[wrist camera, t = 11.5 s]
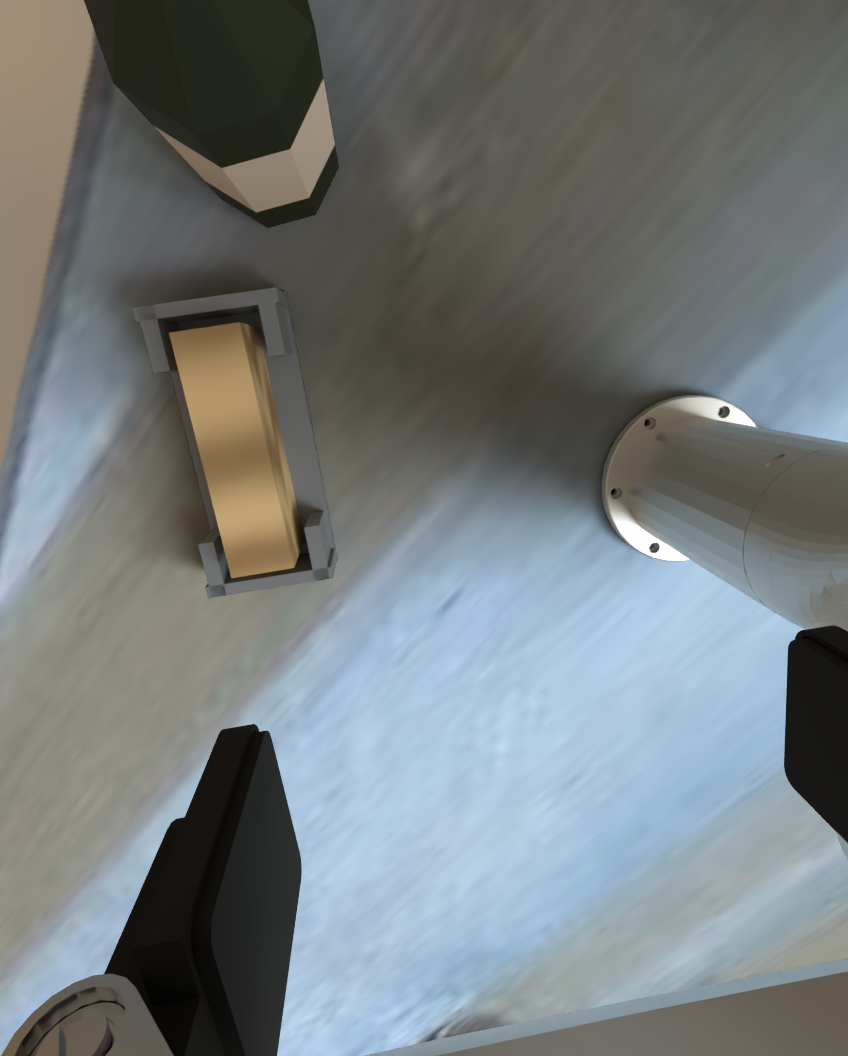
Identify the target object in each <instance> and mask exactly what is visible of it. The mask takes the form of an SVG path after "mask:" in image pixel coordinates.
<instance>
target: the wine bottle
mask: <svg viewBox="0 0 848 1056" xmlns="http://www.w3.org/2000/svg"><path fill="white" fill-rule="evenodd" d="M84 1H85V4H86V7H87V10H88V13H89V15H90V18H91V21H92V24H93V27H94V29H95V32H96V35H97V38H98V41H99V43H100V46H101V49H102V52H103V55H104V57H105V60H106V63H107V66H108V69H109V71H110V74H111V77H112V80H113V83H114V84H115V85H116V86H117V87H118V88H119V89H120V90H121V91H122V92H123V93H124V95H125V96H126V97H127V98H128V99H129V100H130V101H131V102H132V103H133V104H134V105H135V106H136V107H137V109H138V110H139V111H140V112H141V113H142V114H143V115H144V116H145V117H146V118H147V119H148V120H149V121H150V123H151V124H152V125H153V126H154V127H155V128H156V129H157V130H158V131H159V132H160V133H161V134H162V135H163V136H164V138H165V139H166V140H167V141H168V142H169V143H170V144H171V145H172V146H173V147H174V148H175V149H176V150H177V152H178V153H179V154H180V155H181V156H182V157H183V158H184V159H185V160H186V161H187V162H188V163H189V164H190V166H191V167H192V168H193V169H194V170H195V171H196V172H197V173H198V174H199V175H200V176H201V177H202V178H203V180H204V181H205V182H206V183H207V184H208V185H209V186H210V187H211V188H212V189H213V190H214V191H215V192H216V193H217V195H218V196H219V197H220V198H221V199H222V200H224V201H225V202H227V203H229V204H230V205H232V206H233V207H235V208H237V209H238V210H240V211H242V212H243V213H245V214H246V215H248V216H250V217H251V218H253V219H255V220H256V221H258V222H259V223H261V224H263V225H264V226H266V227H268V228H269V227H273V226H276V225H280V224H284V223H287V222H291V221H294V220H298V219H302V218H305V217H309V216H312V215H316V213H317V211H318V209H319V207H320V204H321V202H322V200H323V198H324V196H325V194H326V192H327V190H328V188H329V186H330V184H331V182H332V180H333V178H334V176H335V174H336V172H337V170H338V168H339V166H338V160H337V155H336V149H335V143H334V137H333V131H332V125H331V120H330V114H329V108H328V102H327V96H326V90H325V84H324V79H323V73H322V67H321V61H320V55H319V49H318V43H317V38H316V32H315V26H314V23H313V19H312V15H311V11H310V8H309V4H308V0H84Z"/></svg>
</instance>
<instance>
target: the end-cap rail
mask: <svg viewBox="0 0 848 1056" xmlns="http://www.w3.org/2000/svg"><path fill="white" fill-rule="evenodd" d="M132 310H133V314H134V318H135V321H136V322H139V323H140V324H141V328H142V331H143V335H144V339H145V343H146V347H147V351H148V354H149V358H150V362H151V366H152V370H153V373H165V372H171V376H172V380H173V384H174V388H175V392H176V396H177V400H178V404H179V408H180V412H181V416H182V420H183V424H184V428H185V432H186V435H187V439H188V443H189V447H190V451H191V455H192V459H193V463H194V467H195V471H196V475H197V479H198V483H199V487H200V491H201V495H202V499H203V503H204V507H205V511H206V515H207V519H208V523H209V527H210V532H209V533H208V534H207V535H206V536H205V538H204V539H203V540H202V541H201V542H200V543H199V544H198V547H199V550H200V554H201V558H202V562H203V566H204V570H205V574H206V577H207V581H208V584H207V585H206V587H205V588H206V592H207V596H208V598H212V597H219V596H225V595H231V594H237V593H243V592H249V591H256V590H262V589H268V588H274V587H280V586H286V585H293V584H299V583H305V582H311V581H317V580H324V579H330V578H333V577H334V571H335V565H336V562H337V554H336V549H335V543H334V538H333V533H332V528H331V523H330V517H329V512H328V507H327V502H326V497H325V491H324V486H323V481H322V476H321V471H320V465H319V460H318V455H317V450H316V445H315V439H314V434H313V429H312V424H311V419H310V413H309V408H308V403H307V398H306V393H305V387H304V382H303V377H302V372H301V367H300V361H299V356H298V351H297V346H296V341H295V335H294V330H293V325H292V320H291V315H290V309H289V304H288V299H287V294H286V292H285V291H283V292H282V291H280V290H279V289H278V288H276V287H275V288H268V289H261V290H254V291H247V292H239V293H232V294H225V295H218V296H211V297H204V298H197V299H190V300H183V301H176V302H168V303H161V304H154V305H147V306H140V307H133V308H132ZM237 322H240V323H244V324H247V325H251V326H254V327H258V328H259V332H260V336H261V341H262V346H263V350H264V355H265V359H266V364H267V369H268V373H269V378H270V383H271V387H272V392H273V397H274V401H275V406H276V411H277V415H278V420H279V425H280V429H281V434H282V439H283V443H284V448H285V453H286V457H287V462H288V467H289V471H290V476H291V481H292V485H293V490H294V495H295V499H296V504H297V509H298V513H299V518H300V523H301V527H302V532H303V537H304V543H303V546H302V548H301V551H300V554H299V556H298V559H297V562H296V564H295V567H294V568H291V569H285V570H279V571H273V572H267V573H261V574H255V575H249V576H243V577H237V578H231V574H230V571H229V567H228V563H227V559H226V555H225V551H224V547H223V543H222V539H221V535H220V531H219V527H218V524H217V520H216V516H215V512H214V508H213V504H212V500H211V496H210V492H209V488H208V484H207V480H206V476H205V473H204V469H203V465H202V461H201V457H200V453H199V449H198V445H197V441H196V437H195V433H194V429H193V426H192V422H191V418H190V414H189V410H188V406H187V402H186V398H185V394H184V390H183V386H182V382H181V379H180V375H179V371H178V367H177V363H176V359H175V355H174V351H173V347H172V343H171V339H170V335H169V333H171V332H177V331H184V330H191V329H197V328H204V327H211V326H217V325H224V324H231V323H237Z"/></svg>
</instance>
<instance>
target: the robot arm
mask: <svg viewBox="0 0 848 1056" xmlns="http://www.w3.org/2000/svg"><path fill="white" fill-rule="evenodd" d="M719 409H720V412H719V413H718V411H719ZM646 419H647V421H648V423H647V425H645V426H644V423H645V420H646ZM612 489H615V491H614V493H613V494H611V491H612ZM602 500H603V505H604V510H605V513H606V515H607V517H608V519H609V522H610V524H611V526H612V527H613V528H614V530H615V531H616V533H617V534H618V535H619V536H620V537H621V538H622V539H623V540H624V541H625V542H626V543H627V544H628V545H630V546H631V547H633V548H634V549H636V550H637V551H639V552H640V553H642V554H644V555H646V556H649V557H651V558H655V559H659V560H664V561H687V560H692V561H693V562H695V563H696V564H698V565H699V566H701V567H703V568H704V569H706V570H707V571H709V572H711V573H712V574H714V575H715V576H717V577H719V578H720V579H722V580H723V581H725V582H727V583H728V584H730V585H731V586H733V587H735V588H736V589H738V590H739V591H741V592H743V593H744V594H746V595H747V596H749V597H751V598H752V599H754V600H755V601H757V602H759V603H760V604H762V605H763V606H765V607H767V608H768V609H770V610H771V611H773V612H775V613H777V614H778V615H780V616H782V617H783V618H785V619H787V620H788V621H790V622H791V623H793V624H795V625H798V626H800V627H802V628H804V629H806V630H801V631H800V632H798V634H797V635H796V637H795V640H793V641H791V642H790V644H789V647H788V668H787V697H786V726H785V756H784V768H785V773H786V776H787V778H788V781H789V782H790V784H791V785H792V787H793V788H794V789H795V790H796V791H797V792H798V793H799V794H800V795H801V796H802V797H803V798H804V799H805V800H806V801H807V802H808V803H809V804H810V805H811V806H812V807H813V808H814V809H815V811H816V812H817V813H818V814H819V815H820V816H821V817H822V818H823V819H824V820H825V821H826V822H827V823H828V824H829V825H830V826H831V827H832V828H833V829H834V830H835V831H836V832H837V835H838V839H839V842H840V845H841V847H842V849H843V852H844V854H845V856H846V858H847V859H848V443H846V442H840V441H834V440H828V439H822V438H817V437H811V436H805V435H799V434H794V433H788V432H782V431H776V430H771V429H765V428H759V427H757V426H756V424H755V422H754V421H753V420H752V419H751V418H750V417H749V416H748V415H747V414H746V413H745V412H744V411H743V410H741V409H740V408H738V407H737V406H735V405H734V404H732V403H730V402H727V401H725V400H722V399H720V398H716V397H710V396H703V395H684V396H677V397H672V398H669V399H666V400H663V401H661V402H658V403H656V404H654V405H652V406H651V407H649V408H647V409H645V410H644V411H642V412H641V413H640V414H639V415H637V416H636V417H635V418H634V419H633V420H631V421H630V422H629V423H628V424H627V426H626V427H625V428H624V429H623V430H622V432H621V433H620V434H619V435H618V437H617V439H616V440H615V442H614V444H613V445H612V447H611V449H610V451H609V454H608V457H607V459H606V462H605V465H604V470H603V475H602ZM651 544H652V545H651ZM650 545H651V547H649V546H650ZM300 883H301V857H300V852H299V848H298V844H297V840H296V836H295V832H294V828H293V824H292V820H291V816H290V812H289V807H288V803H287V799H286V795H285V791H284V787H283V783H282V779H281V775H280V771H279V767H278V763H277V759H276V755H275V751H274V747H273V743H272V739H271V736H270V733H269V732H268V731H262V732H259V729H258V727H257V726H256V725H255V724H252V725H246V726H240V727H234V728H229V729H223V730H221V732H220V733H219V735H218V738H217V740H216V743H215V745H214V747H213V750H212V752H211V755H210V757H209V760H208V762H207V764H206V767H205V769H204V772H203V774H202V777H201V779H200V782H199V784H198V786H197V789H196V791H195V794H194V796H193V799H192V801H191V804H190V806H189V808H188V811H187V813H186V816H185V817H184V818H179V819H176V820H174V821H173V822H172V823H171V824H170V826H169V828H168V829H167V831H166V834H165V836H164V838H163V841H162V843H161V845H160V847H159V850H158V852H157V854H156V857H155V859H154V861H153V863H152V866H151V868H150V870H149V873H148V875H147V877H146V879H145V882H144V884H143V886H142V889H141V891H140V893H139V896H138V898H137V900H136V902H135V905H134V907H133V909H132V912H131V914H130V916H129V918H128V921H127V923H126V925H125V928H124V930H123V932H122V934H121V937H120V939H119V941H118V944H117V946H116V948H115V951H114V953H113V955H112V957H111V960H110V962H109V964H108V967H107V969H106V971H105V973H104V974H103V975H94V976H91V977H89V978H86V979H83V980H81V981H78V982H75V983H73V984H71V985H70V986H68V987H66V988H65V989H63V990H61V991H60V992H58V993H57V994H55V995H53V996H52V997H51V998H50V999H48V1000H47V1001H46V1002H45V1003H44V1004H43V1005H41V1006H40V1007H39V1008H38V1009H37V1010H35V1011H34V1012H33V1013H32V1014H31V1015H30V1016H29V1018H28V1019H27V1020H26V1021H25V1022H24V1023H23V1025H22V1026H21V1027H20V1028H19V1029H18V1030H17V1031H16V1033H15V1034H14V1035H13V1037H12V1039H11V1040H10V1042H9V1044H8V1045H7V1047H6V1049H5V1050H4V1052H3V1054H2V1055H1V1056H277V1051H278V1044H279V1037H280V1029H281V1022H282V1015H283V1007H284V1000H285V993H286V985H287V978H288V971H289V963H290V956H291V949H292V942H293V934H294V927H295V920H296V912H297V905H298V898H299V890H300ZM366 1056H848V958H845V959H840V960H835V961H830V962H825V963H820V964H815V965H809V966H804V967H799V968H794V969H789V970H784V971H779V972H773V973H768V974H763V975H758V976H753V977H748V978H743V979H737V980H732V981H727V982H722V983H717V984H712V985H707V986H702V987H697V988H692V989H687V990H681V991H676V992H671V993H666V994H661V995H656V996H651V997H646V998H641V999H636V1000H631V1001H626V1002H621V1003H616V1004H611V1005H606V1006H601V1007H596V1008H591V1009H586V1010H581V1011H576V1012H571V1013H566V1014H561V1015H556V1016H551V1017H547V1018H542V1019H537V1020H532V1021H527V1022H522V1023H517V1024H512V1025H507V1026H502V1027H497V1028H492V1029H487V1030H482V1031H477V1032H472V1033H468V1034H463V1035H458V1036H453V1037H448V1038H443V1039H438V1040H433V1041H429V1042H424V1043H420V1044H415V1045H411V1046H406V1047H402V1048H397V1049H393V1050H389V1051H384V1052H380V1053H375V1054H371V1055H366Z"/></svg>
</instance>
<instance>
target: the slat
mask: <svg viewBox="0 0 848 1056" xmlns="http://www.w3.org/2000/svg"><path fill="white" fill-rule="evenodd" d="M169 335H170V339H171V343H172V347H173V351H174V355H175V359H176V363H177V367H178V371H179V375H180V379H181V382H182V386H183V390H184V394H185V398H186V402H187V406H188V410H189V414H190V418H191V422H192V426H193V429H194V433H195V437H196V441H197V445H198V449H199V453H200V457H201V461H202V465H203V469H204V473H205V476H206V480H207V484H208V488H209V492H210V496H211V500H212V504H213V508H214V512H215V516H216V520H217V524H218V527H219V531H220V535H221V539H222V543H223V547H224V551H225V555H226V559H227V563H228V567H229V571H230V574H231V578H237V577H243V576H249V575H255V574H261V573H267V572H273V571H279V570H285V569H291V568H294V567H295V564H296V562H297V559H298V556H299V554H300V551H301V548H302V546H303V543H304V537H303V532H302V527H301V523H300V518H299V513H298V509H297V504H296V499H295V495H294V490H293V485H292V481H291V476H290V471H289V467H288V462H287V457H286V453H285V448H284V443H283V439H282V434H281V429H280V425H279V420H278V415H277V411H276V406H275V401H274V397H273V392H272V387H271V383H270V378H269V373H268V369H267V364H266V359H265V355H264V350H263V346H262V341H261V336H260V332H259V328H258V327H254V326H251V325H247V324H244V323H240V322H237V323H231V324H224V325H217V326H211V327H204V328H197V329H191V330H184V331H177V332H171V333H169Z"/></svg>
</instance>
